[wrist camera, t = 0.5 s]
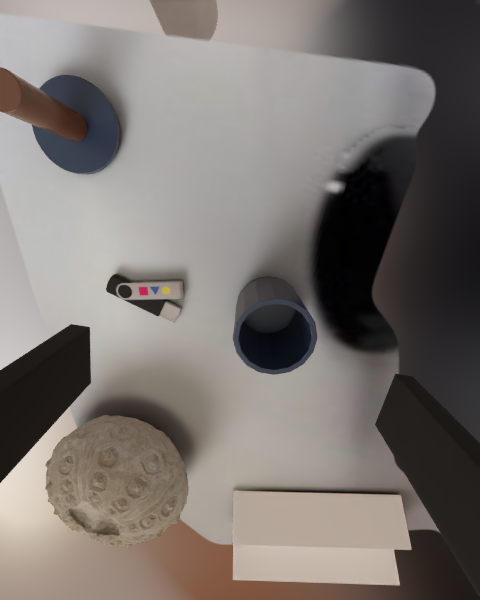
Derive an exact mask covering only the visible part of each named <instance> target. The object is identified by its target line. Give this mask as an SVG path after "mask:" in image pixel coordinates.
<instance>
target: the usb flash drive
mask: <svg viewBox="0 0 480 600" xmlns="http://www.w3.org/2000/svg"><path fill="white" fill-rule="evenodd" d="M106 290H107V292H109V293H111V294H113V295H115V296H117V297H119V298H121V299H123V300H125V301H127V302H129V303H131V304H133V305H136V306H138V307H140V308H142V309H144V310H146V311H148V312H150V313H152V314H154V315H156V316H159V315H160V316H162V317H164V318H166V319H168V320H170V321H172V322H174V323H175V321H176V319H177V317H178V315H179V313H180V311H181V309H182V308H181V307H179V306H177V305H175V304H173V303H171V302H169V301H167V299H182V298H184V291H183V281H182V280H157V281H129V280H127V279H125V278H123V277H120V276H118V275H116V274H115V275H113V276H112V277H111V278H110V280H109V281H108V284H107V288H106Z"/></svg>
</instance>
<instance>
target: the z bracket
mask: <svg viewBox="0 0 480 600" xmlns="http://www.w3.org/2000/svg"><path fill="white" fill-rule="evenodd" d="M232 545H234V552H233V553H234V554H233V580H255V581H257V580H258V581H286V582H316V583H347V584H348V583H349V584H379V585H400V583H399V577H398V571H397V566H396V560H395V555H394V549H402V550H411V544H410V539H409V534H408V529H407V524H406V519H405V514H404V509H403V504H402V499H401V495H390V494H349V493H308V492H267V491H234V495H233V538H232Z"/></svg>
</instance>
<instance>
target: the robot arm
mask: <svg viewBox="0 0 480 600" xmlns="http://www.w3.org/2000/svg"><path fill="white" fill-rule="evenodd" d="M90 383H91V370H90V327H85V326H79V325H72V324H71V325H69V326H68V327H66V328H65V329H63V330H62V331H60V332H59V333H57V334H56V335H54V336H52V337H51V338H49V339H48V340H46V341H45V342H43V343H42V344H40V345H39V346H37V347H36V348H34V349H33V350H31V351H29V352H28V353H26V354H25V355H23V356H22V357H20V358H19V359H17V360H16V361H14V362H13V363H11V364H9V365H8V366H6V367H5V368H3V369H2V370H0V483H1V481H2V480H3V479H4V478H5V477H6V476H7V475H8V474H9V473H10V471H11V470H12V469H13V468H14V467H15V466H16V465H17V464H18V463H19V462H20V461H21V459H22V458H23V457H24V456H25V455H26V454H27V453H28V452H29V451H30V449H31V448H32V447H33V446H34V445H35V444H36V443H37V442H38V441H39V439H40V438H41V437H42V436H43V435H44V434H45V433H46V432H47V430H49V428H50V427H51V426H52V425H53V424H54V423H55V422H56V421H57V419H58V418H59V417H60V416H61V415H62V414H63V413H64V412H65V411H66V410H67V408H68V407H69V406H70V405H71V404H72V403H73V402H74V401H75V400H76V399H77V397H78V396H79V395H80V394H81V393H82V392H83V391H84V390H85V389H86V387H87V386H88V385H89V384H90ZM375 425H376V427H377V428H378V430H379V432H380V433H381V435H382V437H383V438H384V440H385V442H386V443H387V445H388V447H389V448H390V450H391V451H392V453H393V455H394V456H395V458H396V460H397V461H398V463H399V465H400V466H401V468H402V470H403V471H404V473H405V475H406V476H407V478H408V480H409V481H410V483H411V485H412V486H413V488H414V490H415V491H416V493H417V495H418V496H419V498H420V499H421V501H422V503H423V504H424V506H425V508H426V509H427V511H428V513H429V514H430V516H431V518H432V519H433V521H434V523H435V524H436V526H437V528H438V529H439V531H440V533H441V534H442V536H443V537H444V539H445V541H446V543H447V544H448V546H449V547H450V549H451V551H452V552H453V554H454V556H455V557H456V559H457V561H458V562H459V564H460V566H461V567H462V569H463V570H464V572H465V574H466V576H467V577H468V579H469V581H470V582H471V583H472V586H473V587H474V589H475V590H476V592H477V594H478V595H479V597H480V443H479V442H478V441H477V440H476V439H475V438H474V437H473V436H472V435H470V433H469V432H468V431H467V430H466V429H465V428H464V427H463V426H462V425H461V424H460V423H459V422H458V421H457V420H456V419H455V418H453V416H452V415H451V414H450V413H449V412H448V411H447V410H446V409H445V408H444V407H442V405H441V404H440V403H439V402H438V401H437V400H436V399H434V397H433V396H432V395H431V394H429V393H428V391H427V390H426V389H424V387H422V385H421V384H420V383H419V382H418V381H417V380H416V379H415V378H414V377H412V376H406V375H399V374H395V376H394V379H393V381H392V384H391V386H390V389H389V391H388V394H387V396H386V399H385V401H384V404H383V406H382V409H381V411H380V414H379V416H378V419H377V421H376V424H375Z"/></svg>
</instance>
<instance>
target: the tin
mask: <svg viewBox="0 0 480 600" xmlns="http://www.w3.org/2000/svg"><path fill="white" fill-rule="evenodd" d="M233 341H234V345H235V349H236V352H237V354H238V355H239V357H240V358H241V359H242V360H243V362H244V363H245V364H246V365H247V366H249V367H251V368H253V369H254V370H256V371H258V372H261V373H268V374H281V373H286V372H291V371H292V370H294V369H296V368H297V367H299V366H301V365H303V364H304V363H305V362H306V360H307V359H308V358H309V357H310V355H311V354H312V353H313V351H314V347H315V344H316V341H317V332H316V325H315V322H314V320H313V318H312V317H311V315H310V314H309V312H308V310H307V309H306V307H305V306H304V304H303V303H302V301H301V299H300V298H299V296H298V295H297V293H296V292H295V290H294V289H293V287H292V286H291V285H290V284H288V283H287V282H286V281H284V280H282V279H279V278H276V277H261V278H258V279H255V280H253V281H252V282H250V283H249V284H247V285H246V286H245V287H244V288H243V290H242V291H241V293H240V295H239V297H238V301H237V307H236V315H235V324H234V334H233Z"/></svg>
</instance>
